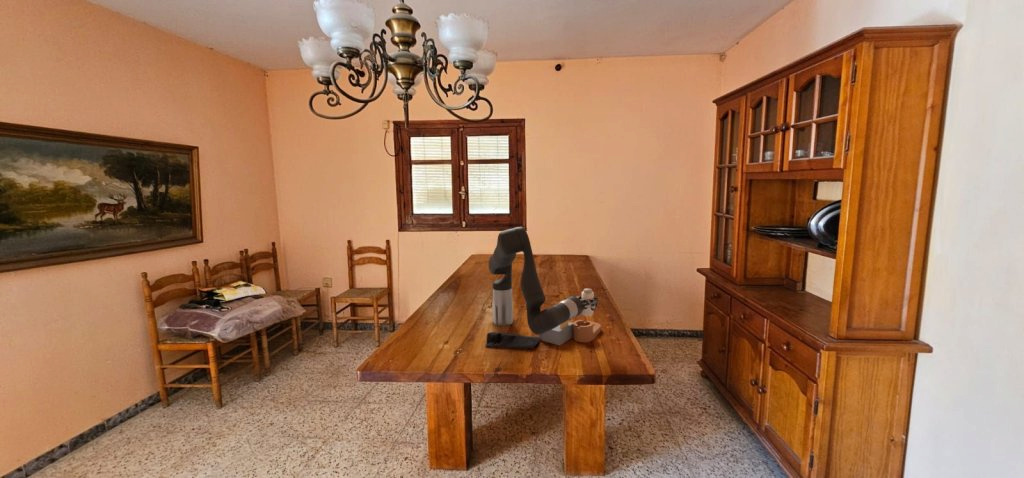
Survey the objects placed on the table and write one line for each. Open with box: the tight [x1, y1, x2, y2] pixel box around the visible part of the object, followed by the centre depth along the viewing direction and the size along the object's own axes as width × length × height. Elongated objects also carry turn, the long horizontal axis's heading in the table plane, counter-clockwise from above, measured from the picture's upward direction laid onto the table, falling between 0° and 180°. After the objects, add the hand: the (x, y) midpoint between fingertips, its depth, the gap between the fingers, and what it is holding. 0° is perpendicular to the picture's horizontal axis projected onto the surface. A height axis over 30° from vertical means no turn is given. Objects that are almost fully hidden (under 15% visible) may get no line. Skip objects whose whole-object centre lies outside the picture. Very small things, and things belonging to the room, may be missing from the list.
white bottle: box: [580, 287, 595, 317], centre depth 159 cm, size 5×5×10 cm
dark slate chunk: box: [485, 331, 541, 350], centre depth 167 cm, size 15×22×5 cm
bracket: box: [572, 319, 602, 343], centre depth 174 cm, size 18×8×7 cm, turn 148°
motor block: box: [538, 320, 573, 346], centre depth 172 cm, size 15×10×8 cm, turn 140°
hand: (590, 297), depth 161 cm, fingers closed on white bottle, 4 cm apart
